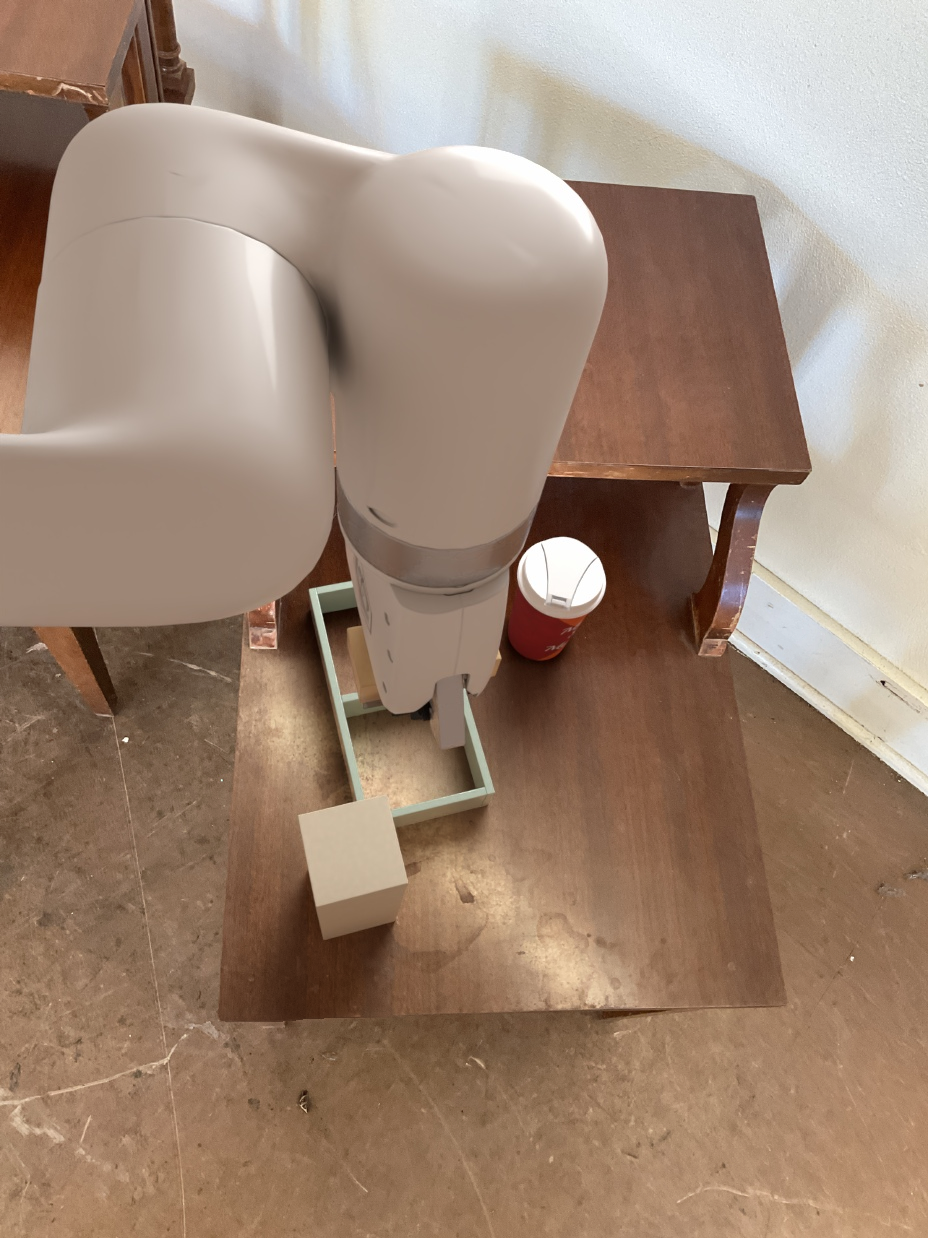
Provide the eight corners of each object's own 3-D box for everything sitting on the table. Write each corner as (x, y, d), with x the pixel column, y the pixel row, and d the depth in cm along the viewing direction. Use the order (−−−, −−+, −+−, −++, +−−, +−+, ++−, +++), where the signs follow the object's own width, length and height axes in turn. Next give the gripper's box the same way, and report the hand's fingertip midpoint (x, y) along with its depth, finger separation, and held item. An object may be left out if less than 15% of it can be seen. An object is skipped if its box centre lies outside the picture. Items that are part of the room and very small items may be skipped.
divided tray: (361, 840, 79) (361, 825, 74) (310, 615, 88) (308, 588, 83) (486, 808, 81) (495, 792, 76) (425, 593, 90) (429, 566, 85)
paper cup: (566, 683, 87) (602, 621, 75) (488, 664, 87) (511, 598, 75) (579, 613, 91) (616, 542, 78) (504, 594, 91) (529, 520, 78)
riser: (323, 942, 75) (315, 907, 57) (309, 870, 77) (297, 815, 59) (394, 923, 76) (408, 883, 58) (378, 853, 79) (386, 793, 61)
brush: (359, 714, 49) (360, 687, 46) (346, 657, 51) (346, 627, 47) (491, 687, 51) (502, 659, 47) (476, 632, 52) (485, 601, 49)
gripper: (297, 331, 36) (315, 555, 53) (388, 713, 30) (375, 833, 47) (477, 310, 38) (439, 534, 55) (600, 669, 32) (515, 800, 48)
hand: (410, 671), depth 50 cm, fingers closed on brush, 3 cm apart
